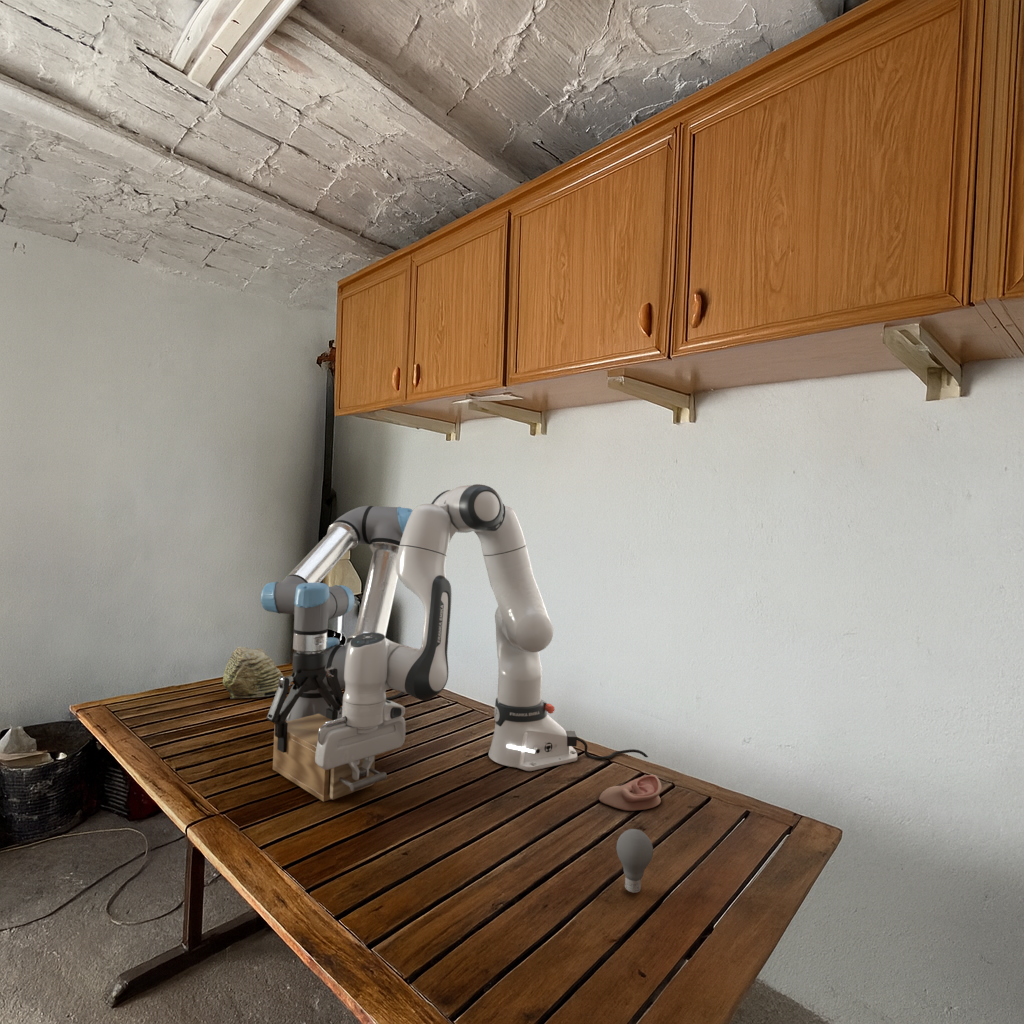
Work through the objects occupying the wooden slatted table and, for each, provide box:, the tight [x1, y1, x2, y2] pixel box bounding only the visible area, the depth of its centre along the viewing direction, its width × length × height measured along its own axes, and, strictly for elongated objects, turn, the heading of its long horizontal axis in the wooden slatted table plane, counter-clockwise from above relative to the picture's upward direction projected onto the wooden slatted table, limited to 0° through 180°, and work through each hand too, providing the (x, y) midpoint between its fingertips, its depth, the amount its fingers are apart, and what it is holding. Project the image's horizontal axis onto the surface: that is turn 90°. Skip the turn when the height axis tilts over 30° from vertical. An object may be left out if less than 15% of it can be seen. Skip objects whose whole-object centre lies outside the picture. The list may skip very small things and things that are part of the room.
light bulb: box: [615, 828, 654, 894], centre depth 106 cm, size 6×6×10 cm
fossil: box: [222, 646, 284, 699], centre depth 198 cm, size 9×18×15 cm, turn 132°
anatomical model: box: [598, 774, 663, 812], centre depth 139 cm, size 13×4×12 cm
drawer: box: [328, 755, 388, 800], centre depth 139 cm, size 26×10×8 cm, turn 49°
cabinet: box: [272, 714, 332, 803], centre depth 143 cm, size 21×12×10 cm, turn 49°
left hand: (306, 743), depth 147 cm, fingers closed on cabinet, 11 cm apart
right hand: (360, 777), depth 132 cm, fingers closed
